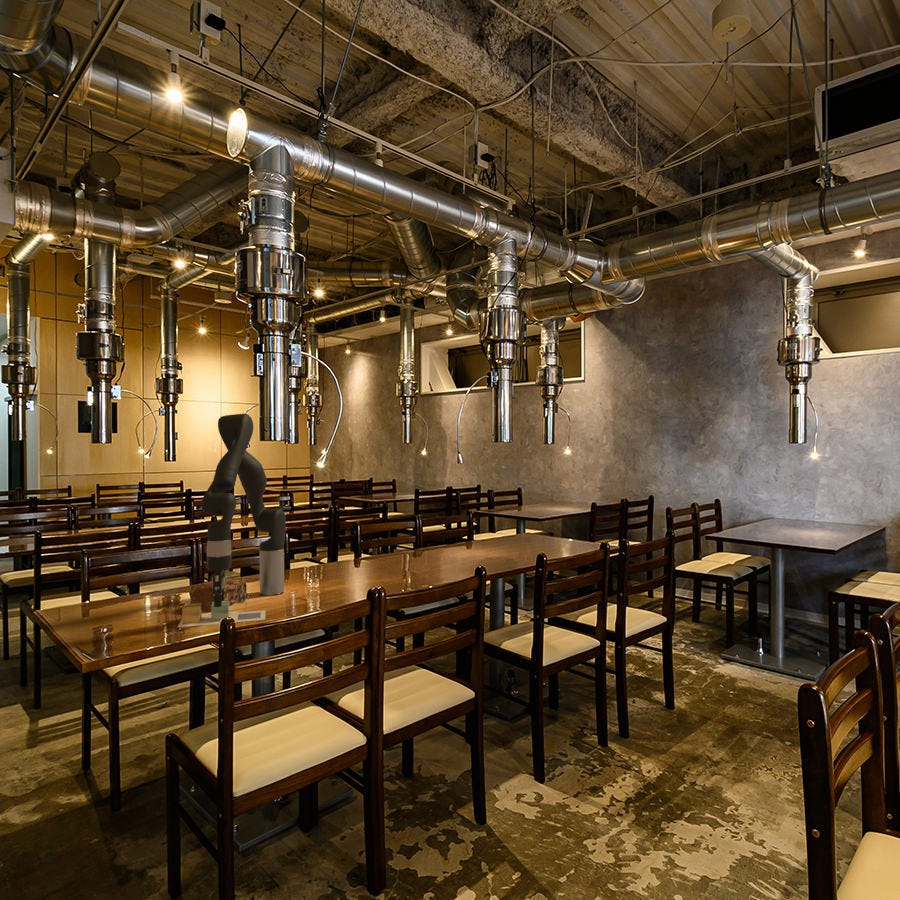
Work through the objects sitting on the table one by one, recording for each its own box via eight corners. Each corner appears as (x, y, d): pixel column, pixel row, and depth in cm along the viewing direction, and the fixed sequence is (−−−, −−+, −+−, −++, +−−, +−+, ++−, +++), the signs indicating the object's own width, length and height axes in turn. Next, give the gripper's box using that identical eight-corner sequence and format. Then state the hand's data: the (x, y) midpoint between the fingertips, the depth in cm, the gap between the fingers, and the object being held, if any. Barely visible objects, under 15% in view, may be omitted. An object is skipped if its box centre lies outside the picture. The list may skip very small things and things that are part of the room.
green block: (212, 617, 190) (212, 602, 190) (229, 616, 192) (228, 600, 192) (211, 621, 186) (211, 605, 186) (227, 619, 187) (227, 604, 187)
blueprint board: (183, 619, 191) (183, 617, 191) (265, 612, 198) (265, 610, 198) (177, 629, 179) (177, 626, 179) (264, 621, 187) (264, 619, 187)
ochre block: (184, 619, 188) (184, 604, 188) (201, 618, 189) (201, 603, 189) (182, 624, 183) (182, 608, 183) (199, 622, 185) (199, 606, 185)
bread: (215, 615, 197) (214, 585, 197) (188, 613, 200) (188, 584, 200) (248, 601, 215) (248, 575, 215) (223, 600, 218) (223, 573, 218)
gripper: (209, 551, 195) (209, 600, 194) (204, 557, 181) (204, 609, 181) (233, 550, 197) (232, 598, 196) (229, 556, 183) (229, 607, 183)
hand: (219, 603), depth 188 cm, fingers open, 8 cm apart
